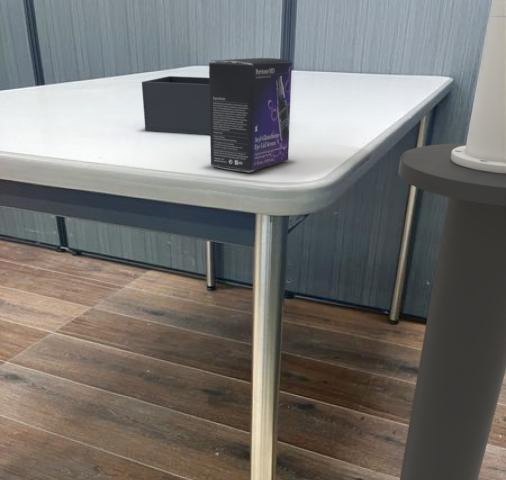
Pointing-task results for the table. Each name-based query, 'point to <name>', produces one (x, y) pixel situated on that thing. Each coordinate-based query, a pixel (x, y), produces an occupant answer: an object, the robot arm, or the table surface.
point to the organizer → (177, 105)
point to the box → (249, 112)
